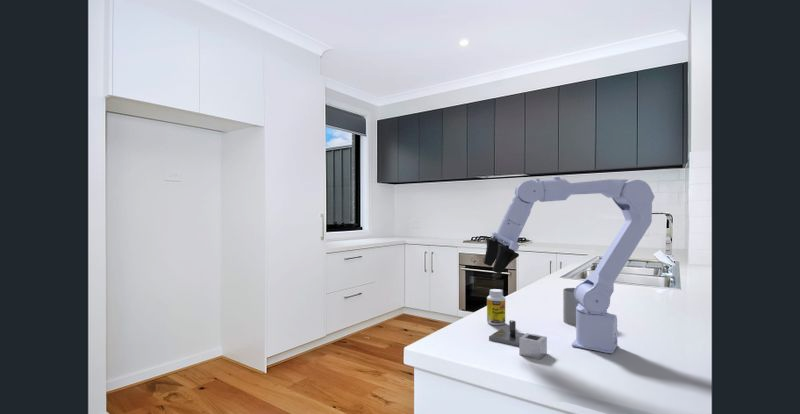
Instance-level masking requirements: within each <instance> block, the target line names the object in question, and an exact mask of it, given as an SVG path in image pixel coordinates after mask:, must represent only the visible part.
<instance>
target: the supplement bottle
mask: <svg viewBox="0 0 800 414" xmlns="http://www.w3.org/2000/svg"><path fill="white" fill-rule="evenodd" d="M486 322H487V323H488V324H489V325H492V326H503V325H504V324H506V297H505V296H504V291H503V289H499V288H498V289H496V288H493V289H489V295H488V296H486Z"/></svg>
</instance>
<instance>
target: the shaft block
mask: <svg viewBox="0 0 800 414" xmlns="http://www.w3.org/2000/svg"><path fill="white" fill-rule="evenodd" d="M508 326H509V327H508V328H509V330H507V329H502V328H500V329H498V331H497V330H496V331H495V332H493V333H492V334H490V335H489V336H488V340H489V341H491V342H496V343H502V344H505V345H506V344H507V345H511V346H515V347H519V338H520V337H522V336H523V335H525V334H526V333H523V332H519V331H516V329H517V328H516V320H509V325H508Z"/></svg>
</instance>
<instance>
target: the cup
mask: <svg viewBox="0 0 800 414" xmlns="http://www.w3.org/2000/svg"><path fill="white" fill-rule="evenodd" d="M575 288H576V287H566V288H563V295H562V296H563V298H562V300H563V303H562V304H563V306H562V307H563V309H562V310H563V313H562V314H563V323H564V324H566V325H569V326H575V327H576V307H577V306H578V303H579V302H578V301H577V300H576V299H575V296H574V290H575Z"/></svg>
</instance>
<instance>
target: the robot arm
mask: <svg viewBox="0 0 800 414" xmlns="http://www.w3.org/2000/svg"><path fill="white" fill-rule="evenodd" d="M514 194H515V195H514V196H513V198H512V200H511V202H510V203H509V205H508V207H507V209H506V212H505V214H504V216H503V219H502V220H501V222H500V225H499V227H498V229H497V231H496V232H495V231H492V232H491V238H489V237H486V250H485V256H484V260H483V264H484V265H487V266H488V267H492V266H493V267H492V272H494V273H496V274H499V275H501V274H502V273H503V272H504V270H506V268H507V267H508V265H509V264H510V263H512V262H513V261H514V260H515V259H517V258H518V257H519V256H520V254H519V253H518V250H519V248H520V245H521V244H519V243H518V242H517V241H518V239H519V238H520V235H521V233H522V232H523V229H524V228H525V225H526V222H527V220H528V219H529V217H530V215H531V213H532V212H531V211H532V208H533V206H534V205H535V203H536V202H541V203H542V202H543V203H544V202H557V201H558V202H560V201H567V199H568V198H570V196H572V195H591V194H594V195H595V194H601V195H603V196H604V197H606V198H609V199H610V198H611V199H612V201H613V202H614V203H615V205H616V206H617V207H618V208H619V209H620V210H621V213H622V215H623V218H624V220H625V221H624V223H623V224H622V226H621V228H620V229H619V231H618V232H617V234H616V236H615V237H614V238H613V240H612V241H611V243H610V245H609V246H608V248H607V250H606V251H605V253H604V254H603V256H602V258H601V259H600V261H599V262H598V264H597V265H596V267H595V269H594V270H593V272H591V273H590V274H588V275H587V276H586V277H585V278H584V280H583V281H581V282H580V283H578V284H577V285H576V287H574V288H575V290H574V296H575V299H576V300H577V301H578V302H579V303H578V306H577V307H576V326H575V329H576V330H575V331H576V333H575V340H573V342H572V343H571V346H572V347H575V348H576V347H577V348H580V349H586V350H592V351H595V352H600V353H606V354H614V352H615V350H616V349H617V348H618V346H619V344H618V315H616V314H614V313H610V312H608V309H609V307H610V306H611V305H610V304H611V298H612V294H613V293H614V291H615V289H614V285H615V284H614V283H615V281H616V280H617V278H618V277H619V275H620V273H621V271H622V270H623V269H624V267H625V265H626V264H627V262H628V261H629V260H630V258H631V256H632V254H633V253H634V251H635V249H636V248H637V246H638V245H639V243H640V242H641V240H642V238H643V237H644V235H645V234H646V232H647V231H648V229H649V227H650V226H651V224H652V222H653V218H652V217H653V202H654V199H655V195H654V193H653V190H652V188H651V186H650V185H649V184H648V183H647V182H646V181H644V180H643V179H633V180H629V179H625V178H624V179H621V178H617V179H616V178H612V179H611V178H609V179H599V180H589V181H579V182H569V181H568V180H567V179H566V178H561V177H560V176H554V177H553V179H543V180H540V178H535V179H534V180H533V179H530V180H526V181H523V182H521V183H519V185H518V186H517V187H515V190H514Z"/></svg>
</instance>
